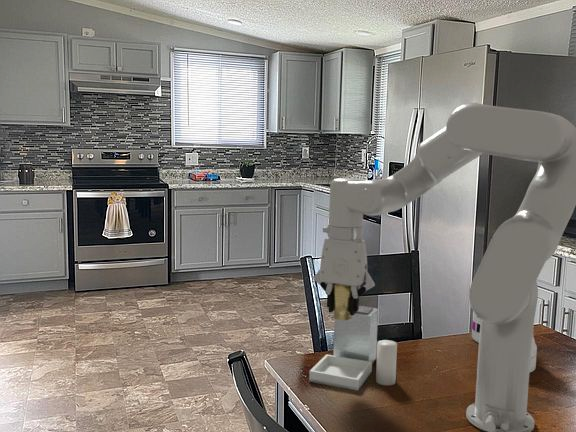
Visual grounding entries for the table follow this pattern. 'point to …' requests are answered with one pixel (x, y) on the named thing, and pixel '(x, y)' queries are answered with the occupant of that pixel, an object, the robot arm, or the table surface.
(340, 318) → the cylinder
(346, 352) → the grey box
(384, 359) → the cylinder
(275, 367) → the table surface
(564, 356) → the table surface
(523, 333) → the robot arm
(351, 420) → the table surface
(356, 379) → the tray
